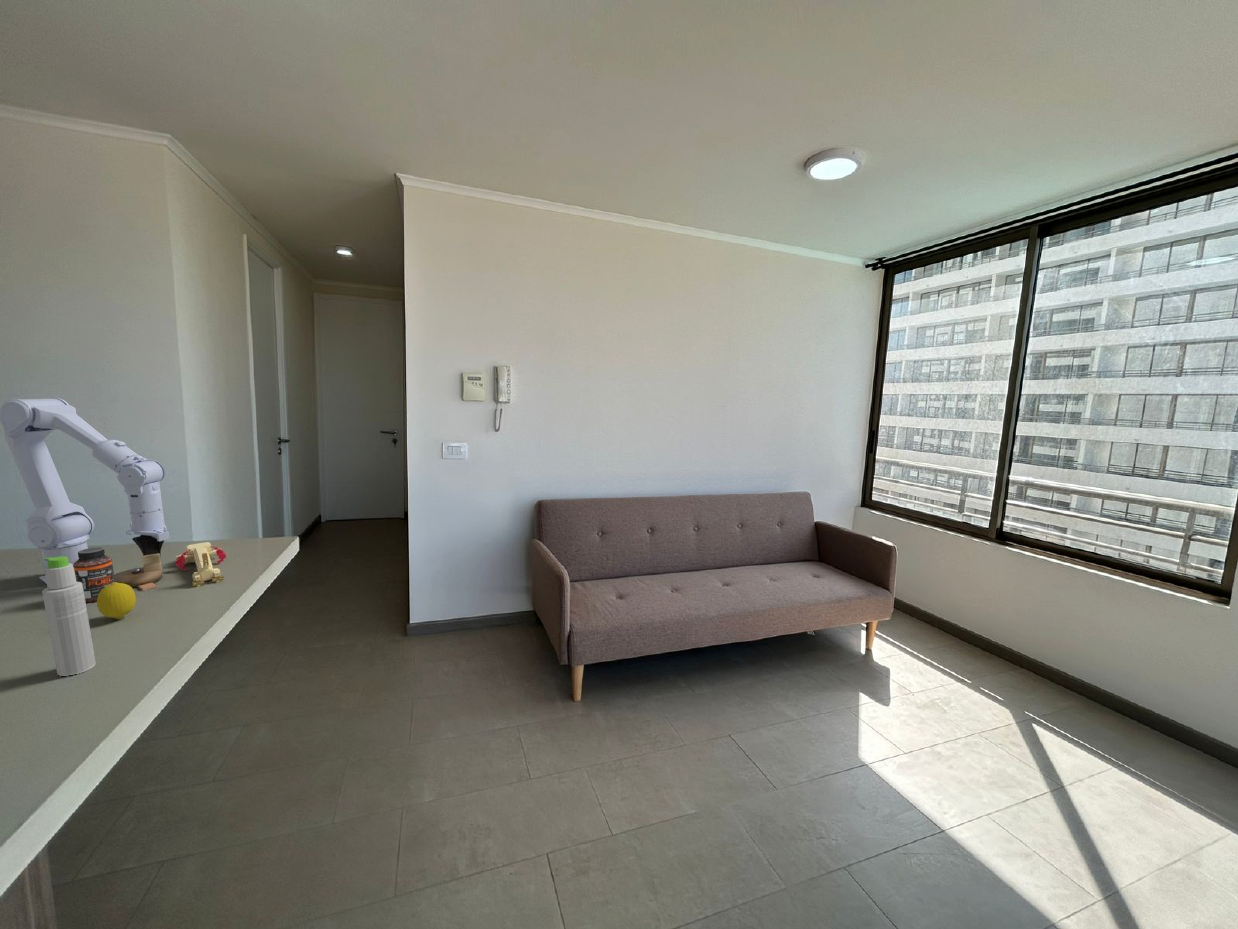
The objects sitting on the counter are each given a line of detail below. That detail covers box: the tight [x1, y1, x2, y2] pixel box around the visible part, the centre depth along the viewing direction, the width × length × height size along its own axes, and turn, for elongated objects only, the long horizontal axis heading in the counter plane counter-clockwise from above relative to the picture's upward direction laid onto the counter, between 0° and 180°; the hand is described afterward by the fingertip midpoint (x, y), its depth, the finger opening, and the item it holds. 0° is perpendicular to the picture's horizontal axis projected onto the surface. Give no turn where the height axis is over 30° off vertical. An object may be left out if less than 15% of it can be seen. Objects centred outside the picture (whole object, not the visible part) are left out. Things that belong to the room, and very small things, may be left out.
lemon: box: [96, 582, 137, 620], centre depth 98 cm, size 6×6×8 cm
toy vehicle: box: [175, 541, 227, 587], centre depth 124 cm, size 10×9×25 cm
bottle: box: [41, 556, 97, 676], centre depth 80 cm, size 4×4×20 cm
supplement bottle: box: [73, 546, 115, 603], centre depth 107 cm, size 6×6×11 cm
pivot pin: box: [130, 567, 141, 573], centre depth 116 cm, size 2×2×1 cm
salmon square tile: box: [138, 582, 157, 591], centre depth 114 cm, size 2×2×1 cm
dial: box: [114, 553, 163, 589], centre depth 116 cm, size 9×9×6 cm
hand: (153, 563), depth 119 cm, fingers closed, pressing on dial
